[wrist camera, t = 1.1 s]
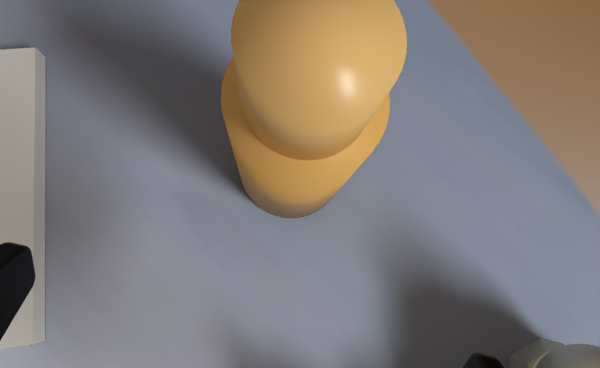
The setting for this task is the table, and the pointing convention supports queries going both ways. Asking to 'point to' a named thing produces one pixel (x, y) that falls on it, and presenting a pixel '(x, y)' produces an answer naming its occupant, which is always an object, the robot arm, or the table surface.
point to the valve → (556, 355)
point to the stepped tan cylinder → (308, 95)
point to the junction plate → (24, 179)
